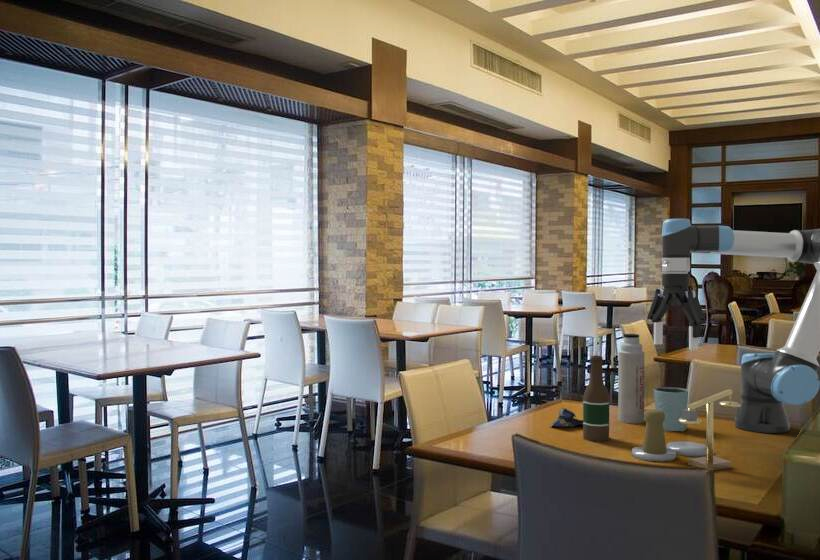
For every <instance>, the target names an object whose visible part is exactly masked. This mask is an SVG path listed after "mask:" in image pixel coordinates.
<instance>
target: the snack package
mask: <svg viewBox="0 0 820 560" xmlns="http://www.w3.org/2000/svg"><path fill="white" fill-rule="evenodd" d="M557 416H558V417H557V418H556V419H555V420H554V421H553V422H552V423H551V424H548V426H549V427H550V428H553V427H552V426H555V428H557V426H558V428H563V427H564V428H565V427H576V426H579V425H580V424H581V425H583V419H578V418H576V417H577V416H576V414H575V413H574V411H572V410H570V409H568V408H565V407H561V409H560V410H558V414H557Z"/></svg>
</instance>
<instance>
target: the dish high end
mask: <svg viewBox="0 0 820 560" xmlns="http://www.w3.org/2000/svg"><path fill="white" fill-rule="evenodd" d="M666 448H668V449H671V450H673V451H675V452H676V455H677V454H678V456H682V457H683V456H685V457H694V458H699V457H706V444H703V443H699V442H693V441H686V440H685V441H681V440H680V441H669V442H668V443H667V442H666ZM698 456H699V457H698Z"/></svg>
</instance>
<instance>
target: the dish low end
mask: <svg viewBox="0 0 820 560" xmlns="http://www.w3.org/2000/svg"><path fill="white" fill-rule="evenodd" d="M666 450H667V453H665V454H650V453H646V452H643V445H641V446H640V445H639V446H634V447H632V449H631V456H632V457H634V458H636V459H638V460H641V459H642V461H646V460H648V461H647V462H654V461H656V462H655V463H657V461H660V462H661V463H666V462H665V461H667V462H672V461H671V460H673V461H674V459H675V458H676V459H677V454H676V452H675V451H673V450H671V449H668V448H667V447H666ZM676 459H675V460H676ZM660 462H659V463H660Z"/></svg>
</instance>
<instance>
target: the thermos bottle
mask: <svg viewBox="0 0 820 560" xmlns="http://www.w3.org/2000/svg"><path fill="white" fill-rule="evenodd" d="M622 336H623V343H621V344H620V350H618V363H617V365H618V370H617V371H618V373H617V375H618V376H617V377H618V378H617V379H618V387H617V388H618V390H617V393H618V397H617V398H618V400H617V401H618V405H617V407H618V408H617V412H618V413H617V415H618V417H617V421H619V422H621V423H625V424H642V423H644V422H645V418H644V413H645V356H646V355H645V351H643V345H642V343H640V334H637V333H624V334H622Z"/></svg>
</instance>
